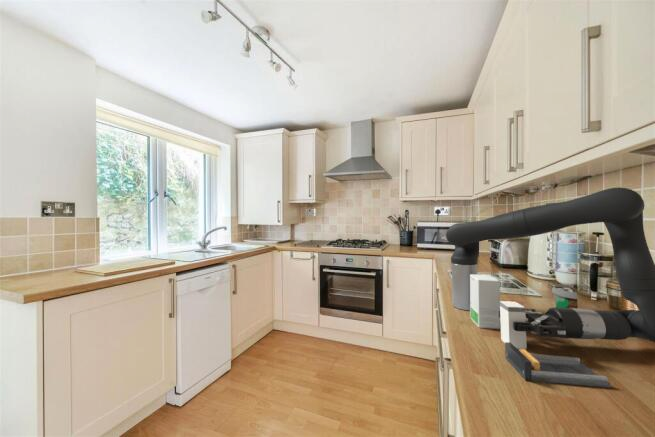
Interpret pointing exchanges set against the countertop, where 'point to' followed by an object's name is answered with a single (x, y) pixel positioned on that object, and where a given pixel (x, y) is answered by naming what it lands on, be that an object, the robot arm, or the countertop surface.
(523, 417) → the countertop surface
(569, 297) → the food container
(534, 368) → the orange rectangular bar
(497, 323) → the skincare box
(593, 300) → the countertop surface
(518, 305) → the block
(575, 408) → the countertop surface
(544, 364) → the dark grey open tray
